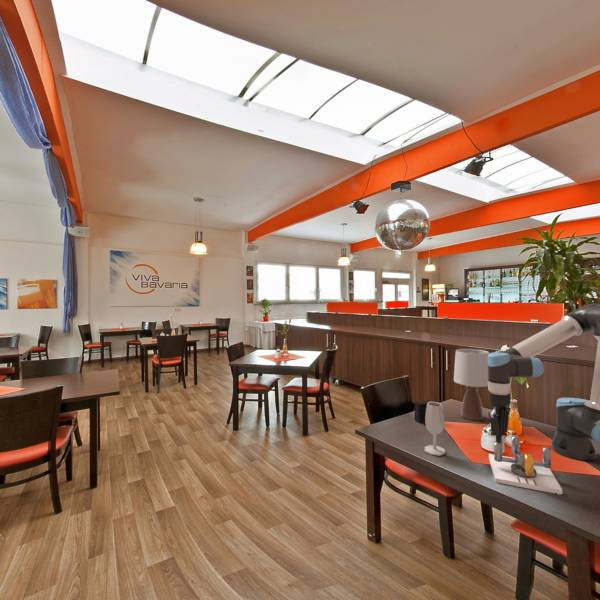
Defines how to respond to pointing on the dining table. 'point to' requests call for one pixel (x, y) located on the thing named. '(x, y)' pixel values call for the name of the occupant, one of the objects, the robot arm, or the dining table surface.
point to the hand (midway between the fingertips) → (500, 451)
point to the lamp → (471, 379)
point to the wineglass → (434, 426)
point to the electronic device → (420, 411)
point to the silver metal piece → (522, 459)
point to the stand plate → (540, 482)
